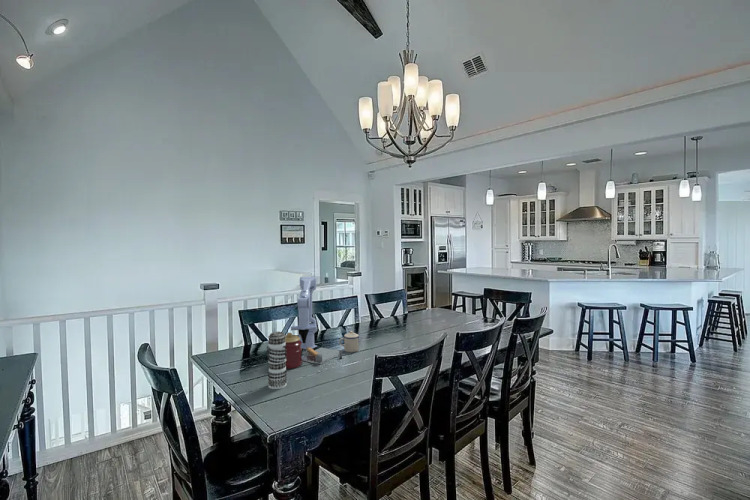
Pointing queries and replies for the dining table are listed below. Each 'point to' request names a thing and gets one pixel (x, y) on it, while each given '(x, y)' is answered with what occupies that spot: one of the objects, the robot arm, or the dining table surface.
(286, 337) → the canister
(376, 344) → the dining table surface
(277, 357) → the decorative candle
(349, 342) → the teacup with lid
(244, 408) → the dining table surface
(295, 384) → the dining table surface
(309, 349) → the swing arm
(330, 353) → the base plate
